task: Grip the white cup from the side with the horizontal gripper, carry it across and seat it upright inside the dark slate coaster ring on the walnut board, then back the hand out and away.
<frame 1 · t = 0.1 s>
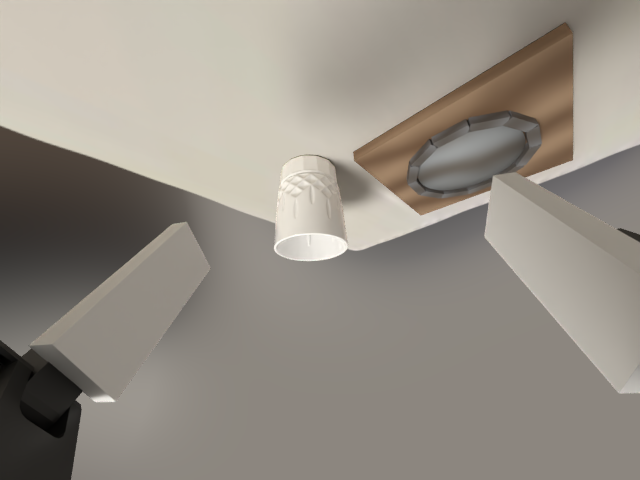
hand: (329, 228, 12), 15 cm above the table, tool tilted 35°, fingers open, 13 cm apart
coaster board: (463, 152, 30), on the table
white cup: (308, 171, 32), on the table
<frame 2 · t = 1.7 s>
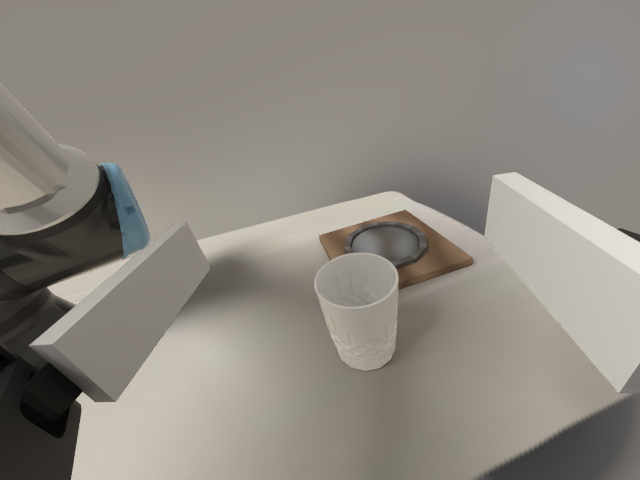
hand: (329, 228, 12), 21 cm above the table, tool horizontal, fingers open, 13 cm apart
coaster board: (384, 250, 44), on the table
white cup: (365, 344, 30), on the table
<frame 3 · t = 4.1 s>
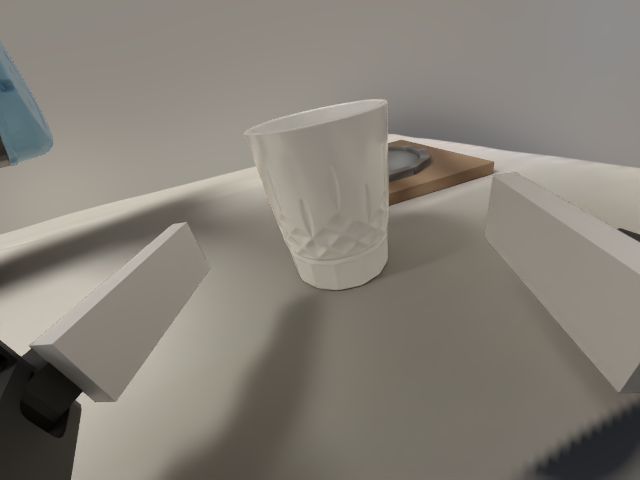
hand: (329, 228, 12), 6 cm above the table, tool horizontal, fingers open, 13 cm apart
coaster board: (374, 175, 34), on the table
white cup: (341, 262, 20), on the table
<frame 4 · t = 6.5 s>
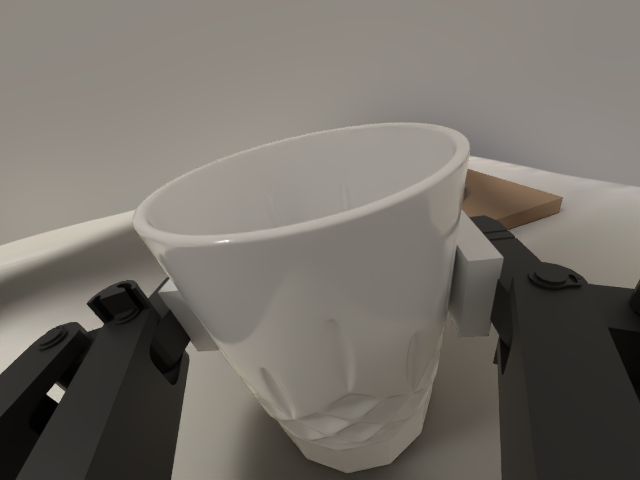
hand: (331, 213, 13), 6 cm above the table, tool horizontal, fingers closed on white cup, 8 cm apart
coaster board: (389, 205, 26), on the table
white cup: (350, 381, 12), on the table, touching gripper
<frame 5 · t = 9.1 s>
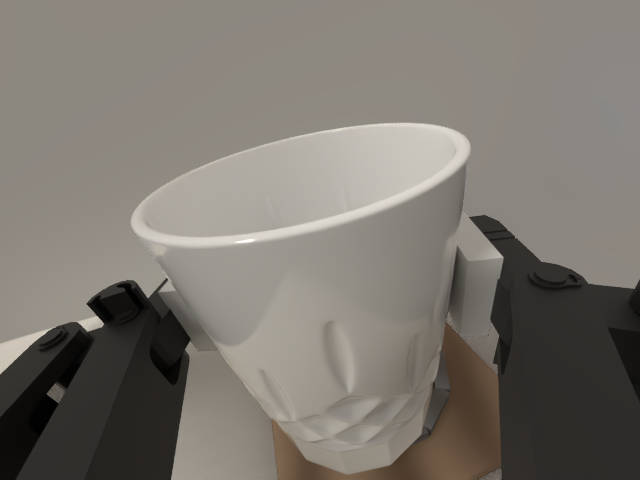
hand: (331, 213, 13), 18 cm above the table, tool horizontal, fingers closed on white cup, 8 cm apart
coaster board: (369, 375, 24), on the table
white cup: (350, 382, 12), point 12 cm above the table, touching gripper
when the fingers open (9 cm above the table, at t = 11.7 s): white cup drops 2 cm, resting on coaster board.
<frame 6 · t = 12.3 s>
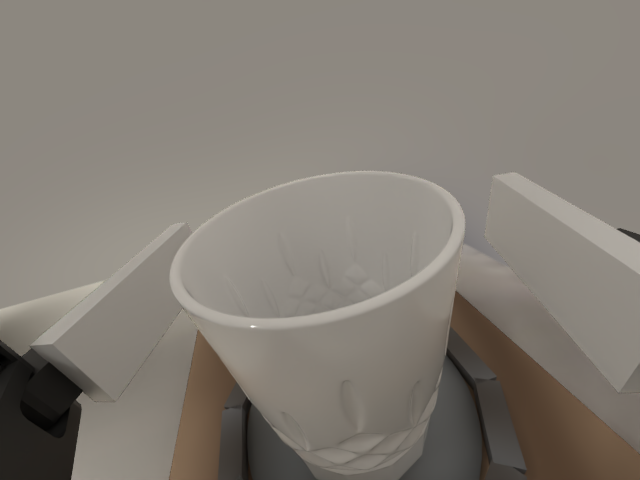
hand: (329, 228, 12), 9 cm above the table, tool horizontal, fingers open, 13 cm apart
coaster board: (358, 415, 14), on the table
white cup: (355, 402, 13), point 1 cm above the table, touching coaster board
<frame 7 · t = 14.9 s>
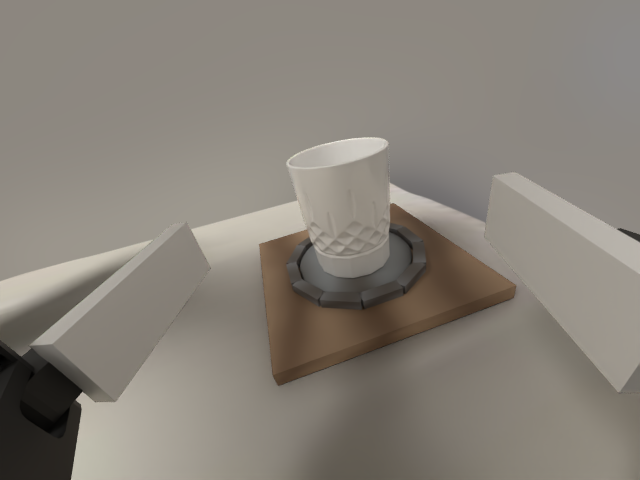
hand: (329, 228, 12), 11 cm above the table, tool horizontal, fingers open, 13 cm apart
coaster board: (355, 269, 26), on the table
white cup: (353, 258, 25), point 1 cm above the table, touching coaster board
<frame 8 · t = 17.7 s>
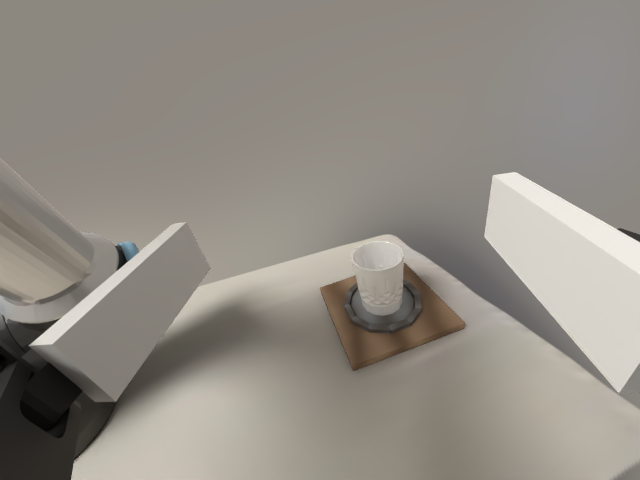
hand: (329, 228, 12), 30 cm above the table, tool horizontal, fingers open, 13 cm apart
coaster board: (382, 307, 46), on the table
white cup: (381, 302, 45), point 1 cm above the table, touching coaster board
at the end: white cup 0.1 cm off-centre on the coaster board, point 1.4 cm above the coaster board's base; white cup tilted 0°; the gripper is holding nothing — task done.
